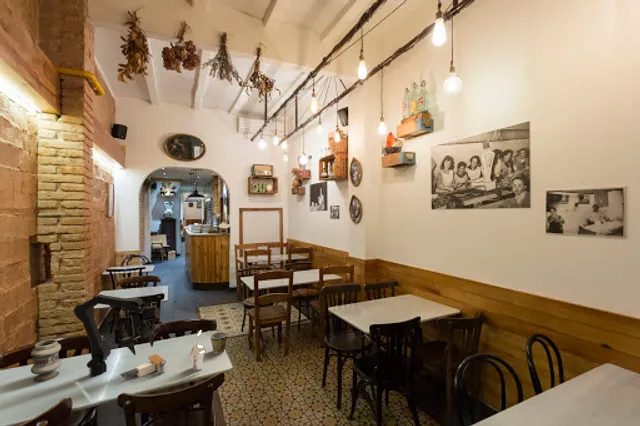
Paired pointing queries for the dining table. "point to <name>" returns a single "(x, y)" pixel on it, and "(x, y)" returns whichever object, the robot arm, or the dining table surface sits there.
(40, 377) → the apothecary jar
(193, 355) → the cup with straw
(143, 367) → the plug
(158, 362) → the copper metal plate
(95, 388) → the dining table surface
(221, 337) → the ceramic cup
